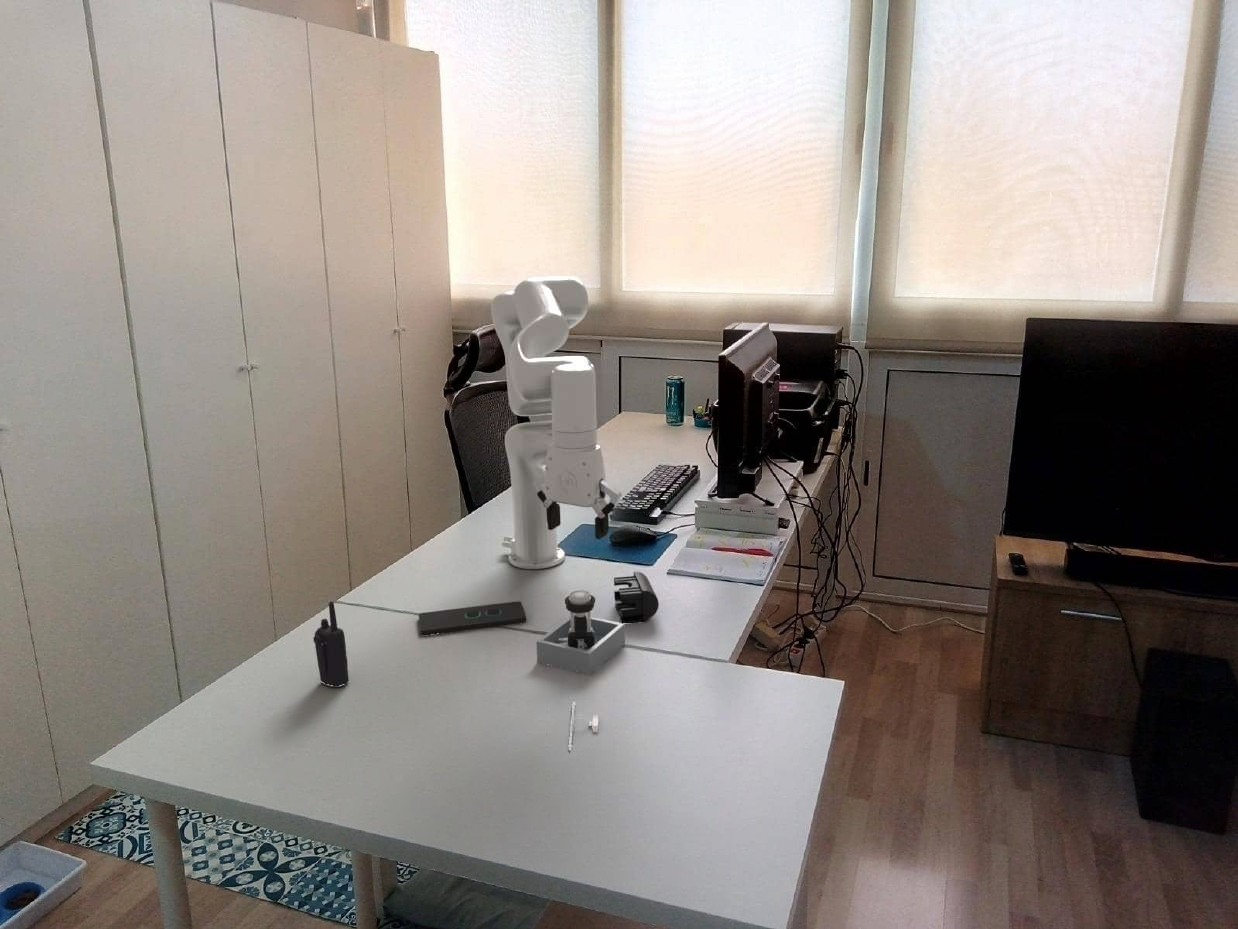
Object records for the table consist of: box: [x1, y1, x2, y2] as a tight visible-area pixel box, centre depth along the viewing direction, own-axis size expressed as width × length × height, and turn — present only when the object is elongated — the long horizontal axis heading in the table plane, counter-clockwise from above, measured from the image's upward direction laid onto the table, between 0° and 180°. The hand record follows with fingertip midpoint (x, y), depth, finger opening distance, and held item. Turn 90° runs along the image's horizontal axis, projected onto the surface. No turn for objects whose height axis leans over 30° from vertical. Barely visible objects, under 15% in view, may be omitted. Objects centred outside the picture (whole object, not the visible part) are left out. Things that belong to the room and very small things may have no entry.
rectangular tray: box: [535, 614, 626, 676], centre depth 158 cm, size 11×13×4 cm
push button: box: [559, 589, 596, 649], centre depth 157 cm, size 7×5×10 cm
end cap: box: [613, 570, 660, 624], centre depth 173 cm, size 10×7×7 cm
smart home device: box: [418, 600, 528, 636], centre depth 172 cm, size 8×2×20 cm
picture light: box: [567, 701, 599, 749], centre depth 136 cm, size 14×4×2 cm, turn 0°
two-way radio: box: [313, 601, 350, 686], centre depth 147 cm, size 6×4×15 cm
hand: (577, 532), depth 156 cm, fingers open, 9 cm apart
